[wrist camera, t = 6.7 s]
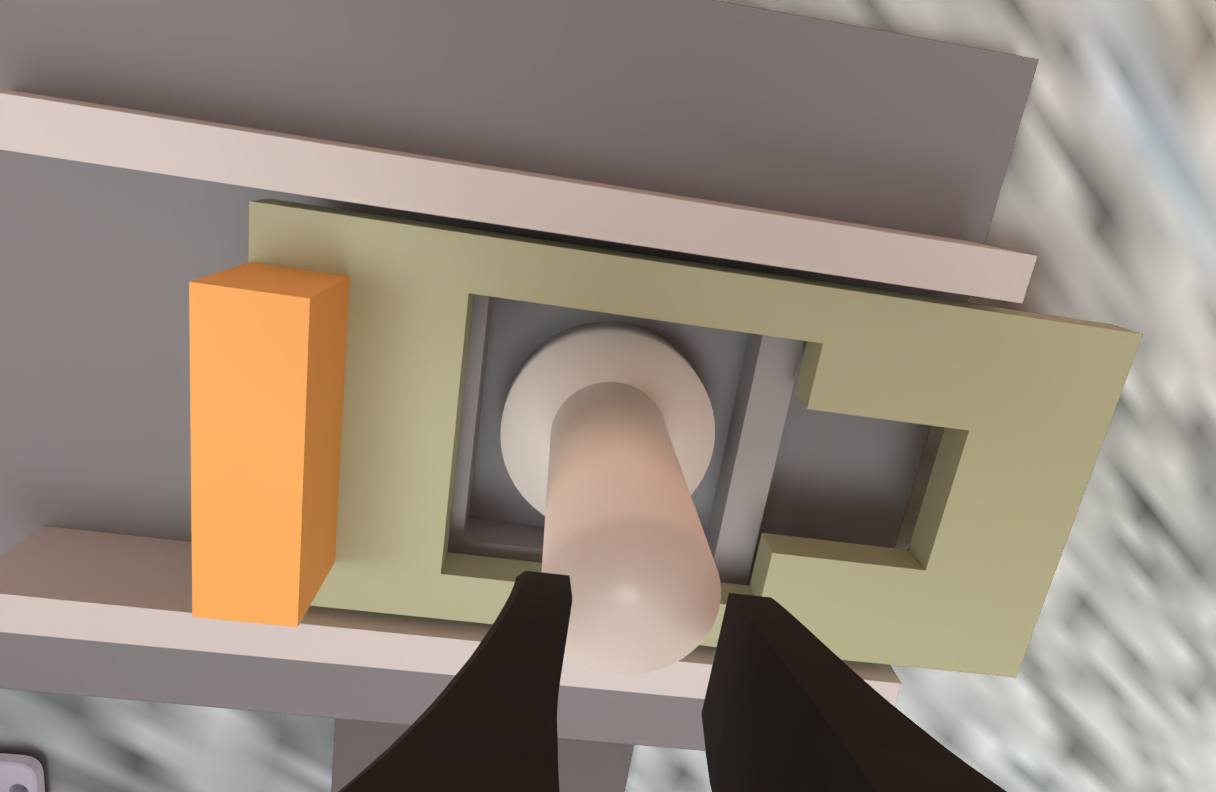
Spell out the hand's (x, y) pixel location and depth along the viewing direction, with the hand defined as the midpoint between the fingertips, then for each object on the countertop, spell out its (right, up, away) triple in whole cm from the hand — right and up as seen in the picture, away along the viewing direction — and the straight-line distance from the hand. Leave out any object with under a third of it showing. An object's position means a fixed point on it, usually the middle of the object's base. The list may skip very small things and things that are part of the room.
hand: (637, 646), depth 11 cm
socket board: (-4, +4, +10) cm, 11 cm away
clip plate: (+1, +2, +7) cm, 8 cm away
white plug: (0, +3, +9) cm, 9 cm away
